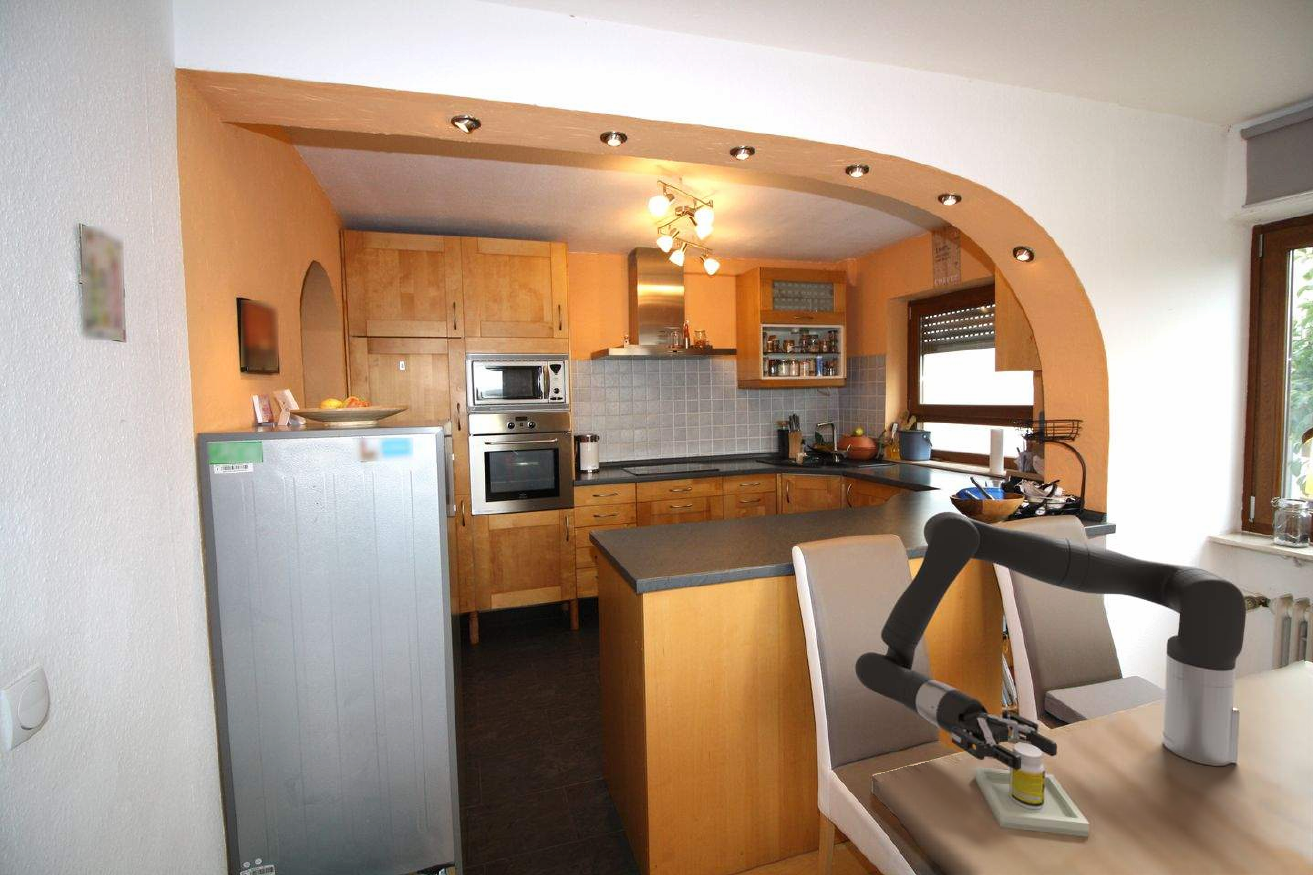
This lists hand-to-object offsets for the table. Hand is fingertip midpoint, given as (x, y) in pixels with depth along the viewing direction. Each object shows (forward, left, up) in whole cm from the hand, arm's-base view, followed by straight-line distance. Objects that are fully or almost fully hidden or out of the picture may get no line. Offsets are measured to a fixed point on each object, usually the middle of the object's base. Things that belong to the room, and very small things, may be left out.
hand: (1038, 756), depth 94 cm
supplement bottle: (+1, -1, -8) cm, 8 cm away
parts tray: (+1, -1, -9) cm, 9 cm away
